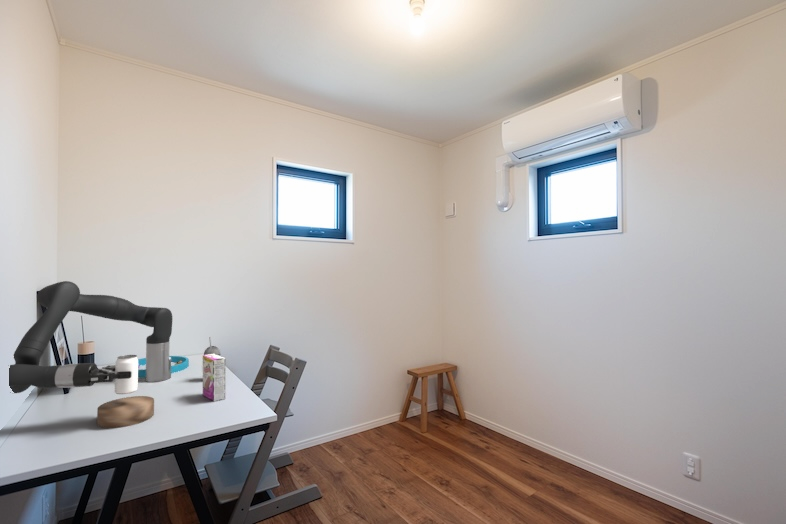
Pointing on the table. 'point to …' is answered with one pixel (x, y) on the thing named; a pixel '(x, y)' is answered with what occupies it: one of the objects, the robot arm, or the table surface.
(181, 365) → the blue ring
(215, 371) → the candy bar box
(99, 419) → the tan rounded flat lump
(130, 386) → the can
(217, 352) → the beverage cup
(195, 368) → the table surface
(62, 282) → the robot arm
